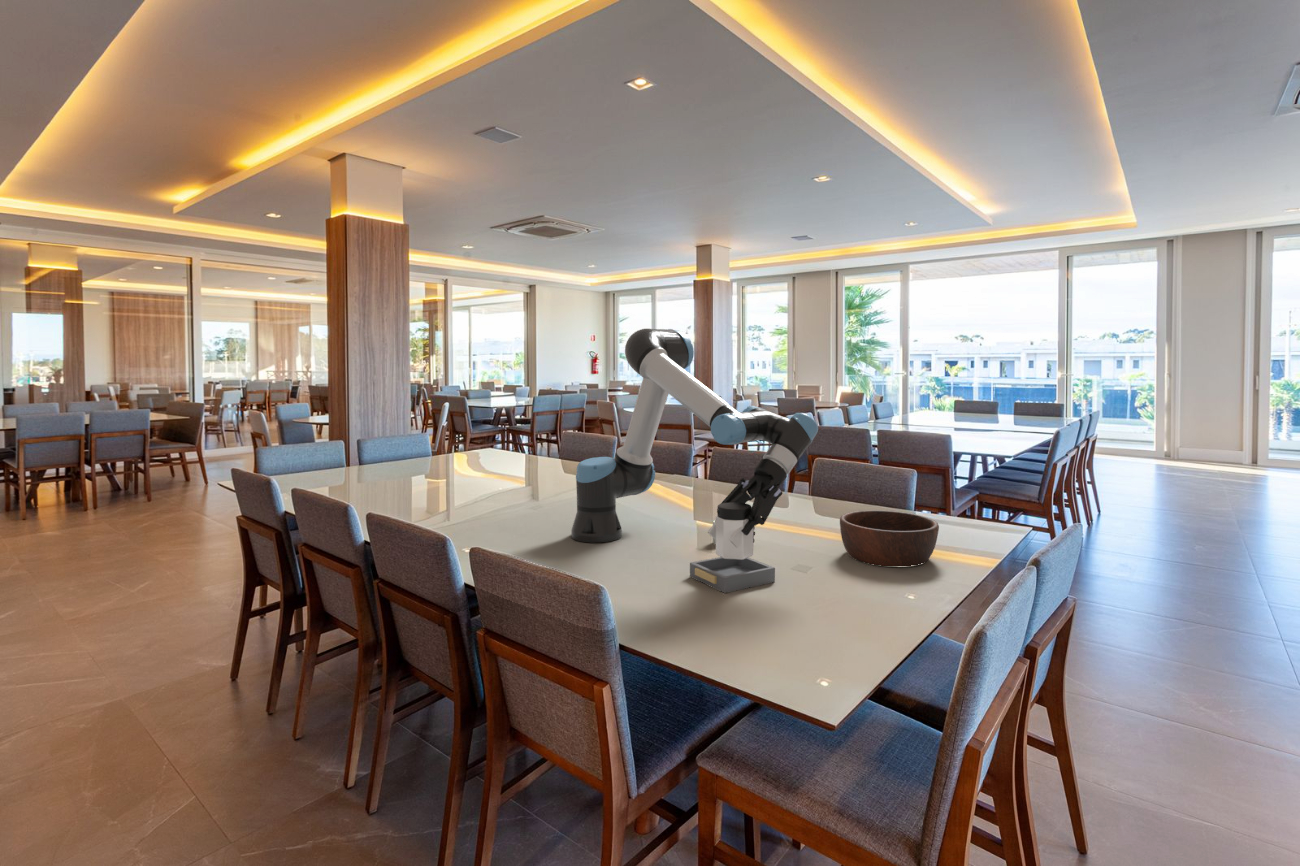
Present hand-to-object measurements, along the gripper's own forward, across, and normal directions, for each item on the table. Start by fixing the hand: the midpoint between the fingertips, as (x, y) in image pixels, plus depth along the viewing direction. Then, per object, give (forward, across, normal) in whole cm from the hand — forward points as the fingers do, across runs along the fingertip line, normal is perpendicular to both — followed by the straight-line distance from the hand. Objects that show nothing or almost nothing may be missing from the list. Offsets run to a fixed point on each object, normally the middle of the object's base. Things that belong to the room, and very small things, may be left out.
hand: (722, 539), depth 162 cm
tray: (+5, 0, -10) cm, 11 cm away
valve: (-8, +25, -23) cm, 35 cm away
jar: (+1, 0, -5) cm, 5 cm away
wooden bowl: (-28, -6, -43) cm, 52 cm away
